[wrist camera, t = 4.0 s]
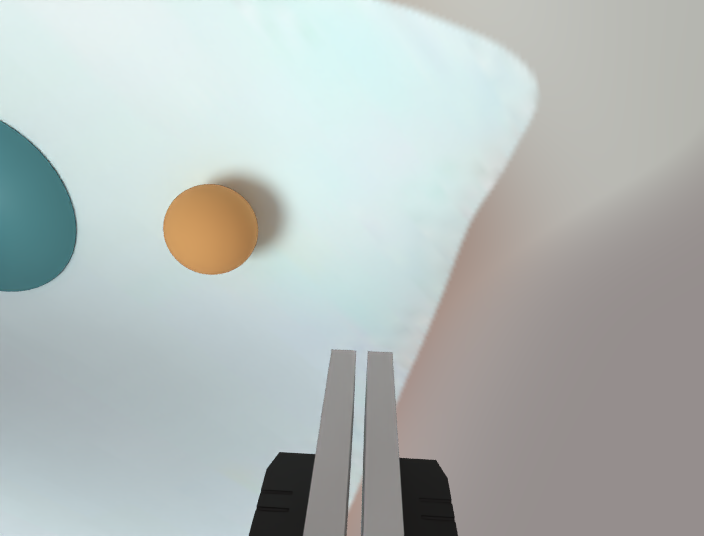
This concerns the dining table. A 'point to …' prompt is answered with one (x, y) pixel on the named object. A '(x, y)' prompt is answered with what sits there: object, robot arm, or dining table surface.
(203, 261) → the ball
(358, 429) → the dining table surface
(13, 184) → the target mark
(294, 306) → the dining table surface
